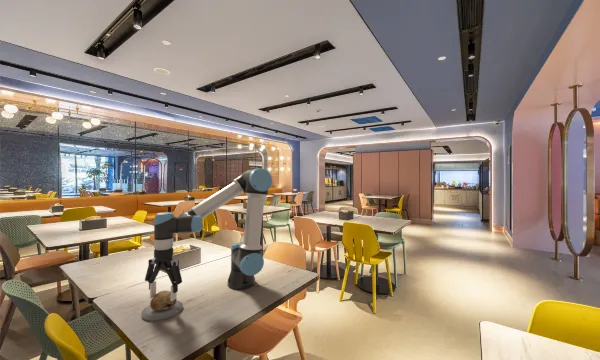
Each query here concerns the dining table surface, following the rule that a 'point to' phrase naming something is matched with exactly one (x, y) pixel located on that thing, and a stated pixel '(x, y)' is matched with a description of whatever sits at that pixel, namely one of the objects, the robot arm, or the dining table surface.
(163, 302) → the bread roll
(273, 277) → the dining table surface
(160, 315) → the plate
